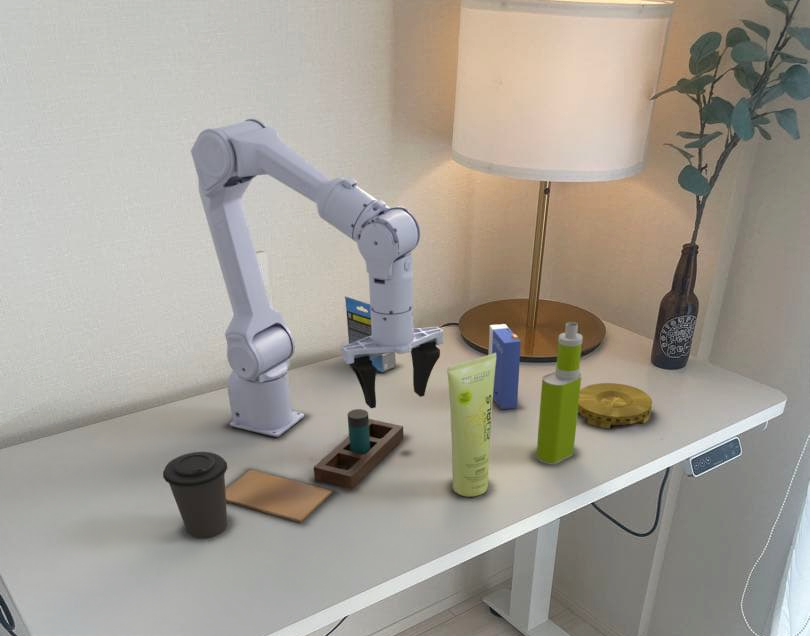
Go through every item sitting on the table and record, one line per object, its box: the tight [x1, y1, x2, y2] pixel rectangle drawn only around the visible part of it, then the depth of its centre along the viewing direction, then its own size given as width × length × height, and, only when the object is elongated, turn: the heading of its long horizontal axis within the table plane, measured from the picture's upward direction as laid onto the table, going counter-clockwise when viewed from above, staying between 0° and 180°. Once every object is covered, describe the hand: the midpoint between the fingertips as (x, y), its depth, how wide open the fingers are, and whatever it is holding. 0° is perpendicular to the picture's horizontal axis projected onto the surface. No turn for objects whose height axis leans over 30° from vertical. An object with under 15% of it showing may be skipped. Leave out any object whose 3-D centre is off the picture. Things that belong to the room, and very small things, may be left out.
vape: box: [536, 321, 584, 465], centre depth 114 cm, size 4×6×20 cm, turn 129°
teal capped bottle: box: [347, 408, 370, 455], centre depth 118 cm, size 3×3×8 cm
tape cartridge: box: [344, 295, 397, 373], centre depth 145 cm, size 9×4×12 cm, turn 46°
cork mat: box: [225, 469, 333, 523], centre depth 113 cm, size 14×8×1 cm, turn 63°
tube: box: [447, 353, 496, 497], centre depth 107 cm, size 6×5×20 cm
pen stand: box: [313, 418, 405, 490], centre depth 120 cm, size 6×16×2 cm, turn 153°
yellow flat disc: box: [578, 382, 653, 429], centre depth 130 cm, size 12×12×2 cm
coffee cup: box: [162, 451, 228, 539], centre depth 104 cm, size 8×8×10 cm
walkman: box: [487, 323, 522, 410], centre depth 132 cm, size 8×3×12 cm, turn 13°
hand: (395, 399), depth 115 cm, fingers open, 7 cm apart
